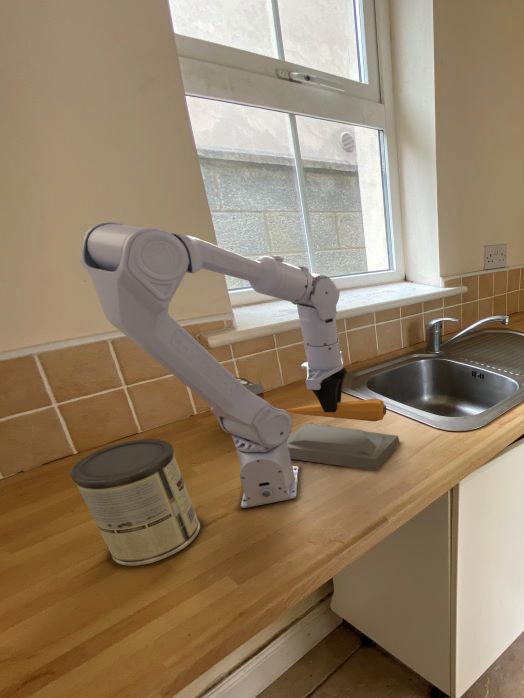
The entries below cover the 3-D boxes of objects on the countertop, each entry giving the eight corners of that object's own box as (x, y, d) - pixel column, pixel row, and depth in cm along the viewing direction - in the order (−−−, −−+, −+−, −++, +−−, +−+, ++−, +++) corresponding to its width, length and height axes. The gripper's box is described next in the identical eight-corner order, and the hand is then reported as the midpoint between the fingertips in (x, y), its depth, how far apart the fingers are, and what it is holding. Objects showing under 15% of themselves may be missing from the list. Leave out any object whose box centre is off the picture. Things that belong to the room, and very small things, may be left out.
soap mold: (376, 470, 83) (374, 454, 81) (276, 456, 85) (273, 440, 83) (399, 442, 92) (398, 427, 90) (308, 430, 94) (305, 416, 92)
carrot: (388, 419, 90) (387, 397, 89) (382, 423, 85) (382, 399, 85) (284, 420, 88) (283, 398, 88) (273, 423, 83) (272, 399, 83)
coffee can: (103, 541, 64) (62, 459, 58) (187, 507, 72) (159, 430, 65) (121, 579, 58) (78, 492, 52) (211, 538, 66) (183, 457, 60)
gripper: (312, 329, 86) (323, 392, 92) (281, 355, 73) (296, 427, 79) (350, 329, 87) (358, 392, 93) (325, 355, 74) (337, 426, 80)
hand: (332, 408), depth 86 cm, fingers closed on carrot, 2 cm apart
